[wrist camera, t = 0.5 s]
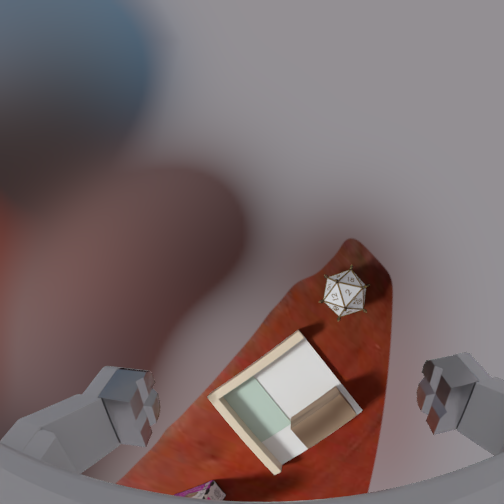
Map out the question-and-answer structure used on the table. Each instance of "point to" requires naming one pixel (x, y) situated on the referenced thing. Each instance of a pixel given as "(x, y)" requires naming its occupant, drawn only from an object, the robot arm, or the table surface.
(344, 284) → the game die
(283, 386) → the arena
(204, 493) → the candy bar box
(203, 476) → the table surface
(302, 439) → the walnut block
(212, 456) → the table surface
